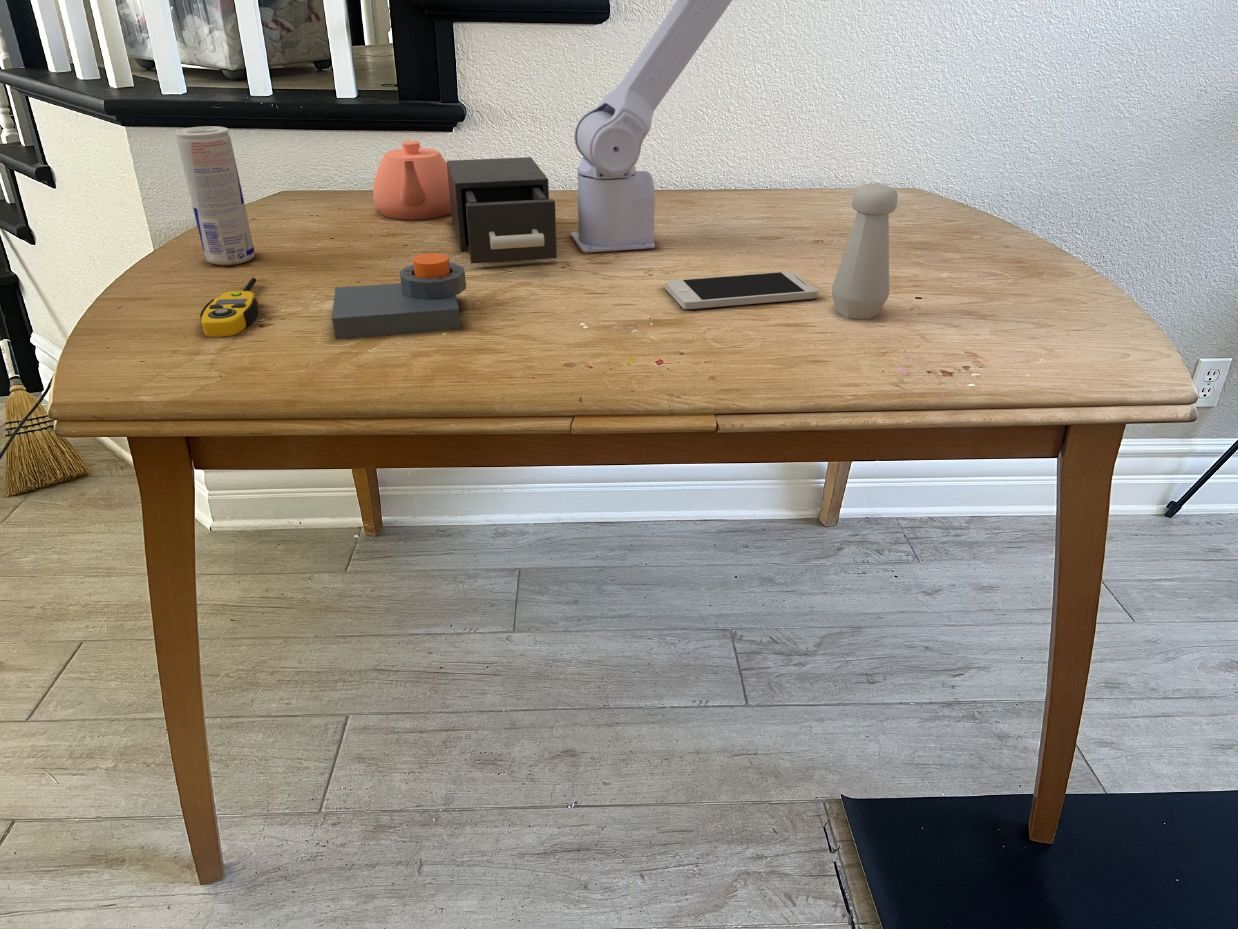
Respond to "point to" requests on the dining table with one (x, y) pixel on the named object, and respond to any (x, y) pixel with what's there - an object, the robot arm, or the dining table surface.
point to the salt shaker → (866, 254)
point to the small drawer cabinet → (488, 183)
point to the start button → (431, 265)
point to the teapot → (412, 183)
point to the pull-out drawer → (509, 224)
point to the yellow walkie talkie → (230, 312)
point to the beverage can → (216, 194)
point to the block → (399, 305)
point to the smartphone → (740, 290)
